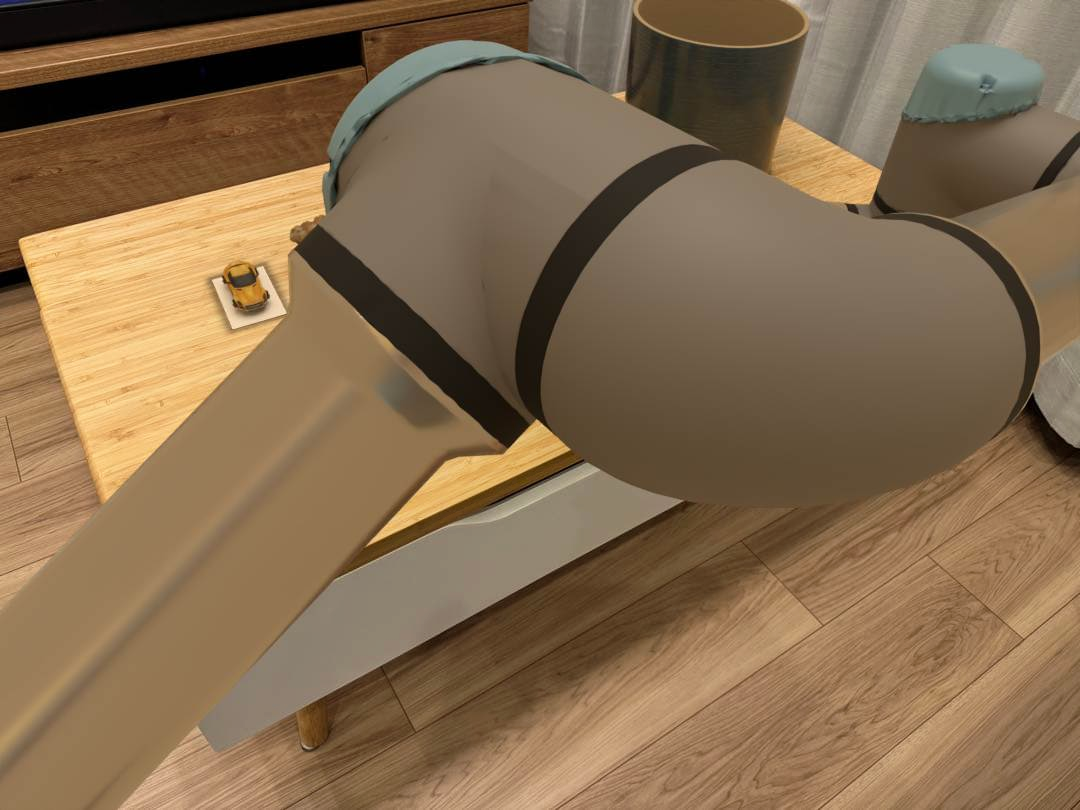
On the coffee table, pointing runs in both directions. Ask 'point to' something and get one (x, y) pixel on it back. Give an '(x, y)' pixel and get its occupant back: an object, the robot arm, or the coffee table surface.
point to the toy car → (247, 294)
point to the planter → (717, 69)
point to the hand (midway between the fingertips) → (517, 222)
